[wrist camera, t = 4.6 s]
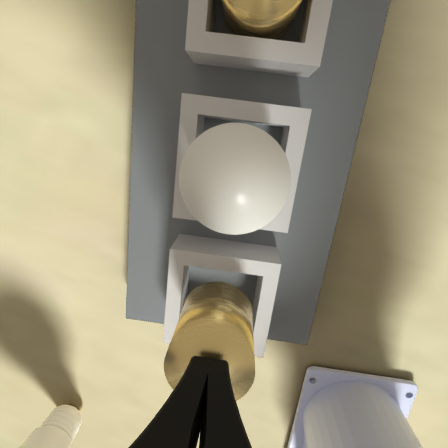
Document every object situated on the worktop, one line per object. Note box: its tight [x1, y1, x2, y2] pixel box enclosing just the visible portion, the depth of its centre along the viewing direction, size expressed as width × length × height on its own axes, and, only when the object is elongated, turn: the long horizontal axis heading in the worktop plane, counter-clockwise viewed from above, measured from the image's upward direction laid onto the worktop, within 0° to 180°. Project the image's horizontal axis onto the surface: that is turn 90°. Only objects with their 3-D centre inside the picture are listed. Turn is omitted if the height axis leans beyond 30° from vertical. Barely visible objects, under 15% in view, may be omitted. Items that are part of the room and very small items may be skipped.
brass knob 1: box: [164, 282, 255, 401], centre depth 14 cm, size 4×4×4 cm
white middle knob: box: [179, 123, 291, 235], centre depth 12 cm, size 4×4×4 cm
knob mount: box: [126, 0, 390, 357], centre depth 16 cm, size 22×12×4 cm, turn 173°
